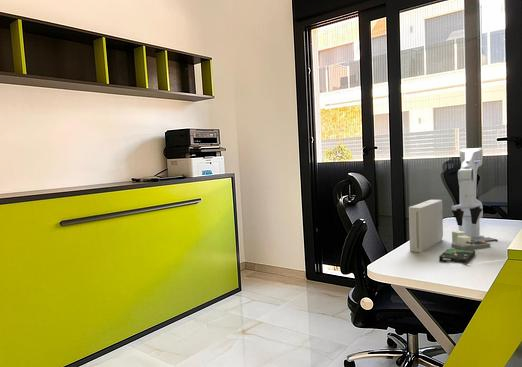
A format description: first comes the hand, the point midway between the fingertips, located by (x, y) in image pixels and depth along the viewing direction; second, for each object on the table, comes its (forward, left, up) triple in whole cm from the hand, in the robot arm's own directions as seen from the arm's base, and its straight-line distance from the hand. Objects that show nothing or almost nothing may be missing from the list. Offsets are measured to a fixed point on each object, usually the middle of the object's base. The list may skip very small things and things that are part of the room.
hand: (467, 224), depth 182 cm
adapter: (+7, -6, -9) cm, 13 cm away
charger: (-2, -2, -10) cm, 10 cm away
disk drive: (+17, -18, -10) cm, 27 cm away
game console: (-7, -16, -10) cm, 20 cm away
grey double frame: (+5, -2, -10) cm, 11 cm away
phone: (-2, +11, -10) cm, 15 cm away
